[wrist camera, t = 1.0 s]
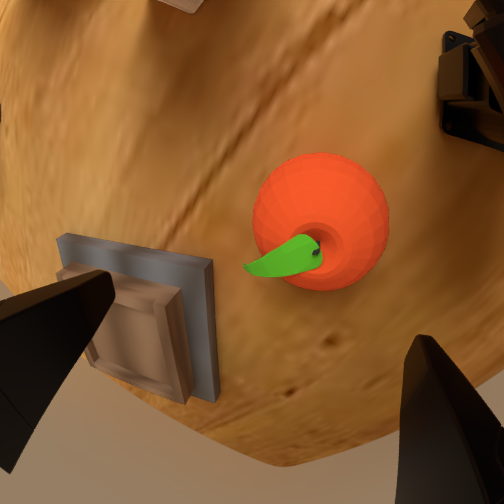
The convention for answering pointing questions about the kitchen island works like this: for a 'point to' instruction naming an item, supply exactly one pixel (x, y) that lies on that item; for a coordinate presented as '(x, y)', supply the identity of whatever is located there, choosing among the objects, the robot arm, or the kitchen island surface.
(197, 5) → the ink cartridge box
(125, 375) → the fruit stand
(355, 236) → the clementine
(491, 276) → the kitchen island surface
